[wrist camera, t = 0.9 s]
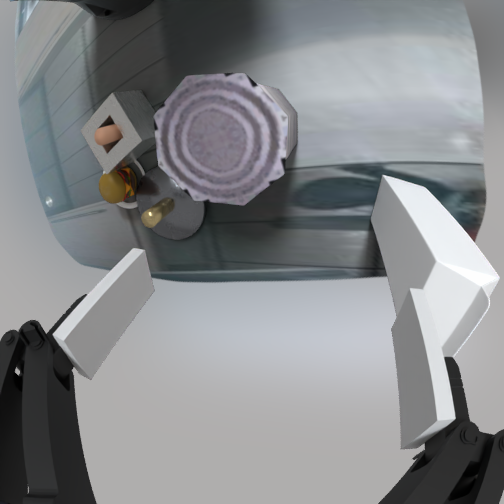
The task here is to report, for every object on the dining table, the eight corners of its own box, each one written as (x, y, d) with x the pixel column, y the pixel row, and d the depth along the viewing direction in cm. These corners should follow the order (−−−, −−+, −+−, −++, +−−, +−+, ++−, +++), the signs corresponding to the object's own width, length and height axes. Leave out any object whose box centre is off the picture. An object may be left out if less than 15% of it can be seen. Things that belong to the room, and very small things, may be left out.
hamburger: (98, 200, 42) (77, 213, 37) (104, 134, 35) (79, 142, 31) (153, 225, 42) (134, 242, 37) (166, 154, 35) (144, 164, 30)
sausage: (128, 125, 33) (91, 135, 27) (137, 116, 32) (101, 124, 26) (135, 137, 34) (99, 149, 28) (145, 128, 33) (109, 138, 27)
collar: (108, 123, 33) (80, 130, 28) (141, 90, 30) (112, 92, 25) (133, 162, 36) (106, 174, 31) (168, 132, 32) (142, 140, 28)
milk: (370, 219, 32) (401, 368, 14) (382, 173, 29) (451, 294, 11) (412, 229, 31) (469, 373, 13) (426, 186, 28) (520, 309, 10)
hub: (128, 189, 38) (103, 204, 33) (177, 149, 34) (152, 160, 29) (167, 246, 42) (147, 267, 37) (221, 218, 37) (204, 239, 32)
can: (299, 80, 26) (285, 66, 16) (300, 174, 32) (287, 213, 22) (203, 85, 28) (146, 84, 18) (209, 172, 34) (161, 207, 24)
